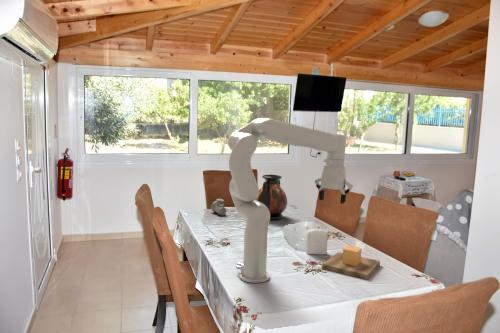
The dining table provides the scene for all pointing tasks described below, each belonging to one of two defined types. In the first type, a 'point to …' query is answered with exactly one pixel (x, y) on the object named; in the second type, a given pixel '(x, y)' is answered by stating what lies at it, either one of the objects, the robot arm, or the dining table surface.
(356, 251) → the solid orange cube
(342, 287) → the dining table surface
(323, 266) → the board
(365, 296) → the dining table surface
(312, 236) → the photo printer
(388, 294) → the dining table surface
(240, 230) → the dining table surface
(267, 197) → the amphora vase
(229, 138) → the robot arm
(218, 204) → the grey lumpy piece
